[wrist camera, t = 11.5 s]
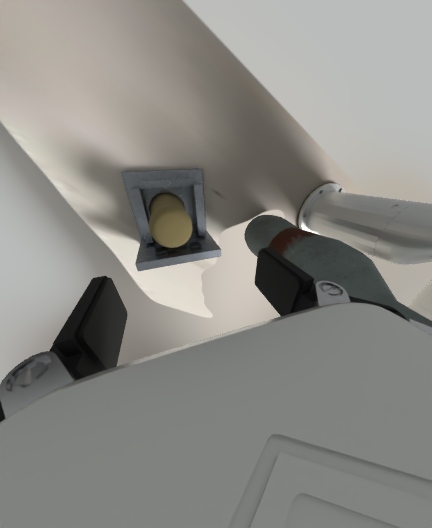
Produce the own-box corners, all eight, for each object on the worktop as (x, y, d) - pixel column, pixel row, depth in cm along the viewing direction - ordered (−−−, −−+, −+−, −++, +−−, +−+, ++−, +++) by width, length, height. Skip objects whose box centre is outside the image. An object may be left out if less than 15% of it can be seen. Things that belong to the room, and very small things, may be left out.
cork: (142, 196, 25) (134, 211, 16) (180, 188, 26) (191, 198, 17) (156, 231, 28) (155, 260, 20) (189, 223, 30) (202, 247, 21)
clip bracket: (200, 168, 27) (219, 168, 18) (205, 236, 33) (221, 258, 25) (122, 172, 24) (103, 173, 16) (144, 245, 30) (138, 273, 22)
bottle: (276, 205, 34) (573, 296, 10) (279, 240, 39) (478, 358, 15) (237, 222, 34) (453, 367, 9) (246, 256, 39) (397, 407, 14)
